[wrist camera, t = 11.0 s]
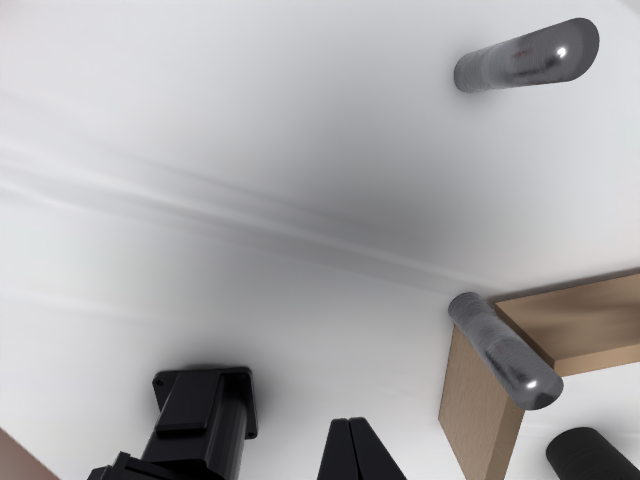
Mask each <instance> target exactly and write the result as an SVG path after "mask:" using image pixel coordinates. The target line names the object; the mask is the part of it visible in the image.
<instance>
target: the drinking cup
mask: <svg viewBox="0 0 640 480" xmlns="http://www.w3.org/2000/svg"><path fill="white" fill-rule="evenodd" d="M546 455H547V459H548V461H549V462H550V464H551V466H552V467H553V469H554V470H555V472H556V474H557V475H558V477H559V479H560V480H640V471H639V470H638V469H637V468H636V467H635V466H634V465H633V464H632V463H631V462H630V461H629V460H628V459H626V458H625V457H624V456H623V455H622V454H621V453H620V452H619V451H618V450H617V449H616V448H615V447H613V446H612V445H611V444H610V443H609V442H608V441H607V440H606V439H605V438H604V437H603V436H602V435H600V434H599V433H598V432H597V431H596V430H594V429H591V428H576V429H572V430H569V431H567V432H565V433H563V434H561V435H559V436H558V437H557V438H555V439H554V440H553V441H552V442H551V444H550V445H549V447H548V449H547V452H546Z"/></svg>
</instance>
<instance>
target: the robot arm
mask: <svg viewBox="0 0 640 480" xmlns="http://www.w3.org/2000/svg"><path fill="white" fill-rule="evenodd" d="M242 375H245V376H242ZM160 380H162V381H160ZM152 384H153V387H154V391H155V395H156V398H157V402H158V406H159V409H160V415H159V418H158V420H157V422H156V424H155V427H154V430H153V432H152V434H151V437H150V439H149V441H148V443H147V446H146V448H145V450H144V452H143V455H142V457H141V459H137V458H134V457H130V455H131V454H128V453H125V452H122V451H120V453H119V454H118V456H117V458H116V459H115V461H114V463H113V464H112V466H110V465H107V466H105V467H101V468H96V469H93V470H92V472H91V474H90V475H89V477H88V479H87V480H238V476H239V470H240V464H241V457H242V451H243V445H244V440H246V439H254V438H256V437H257V434H258V424H257V416H256V408H255V399H254V391H253V383H252V374H251V371H250V370H249V369H248V368H229V369H213V370H196V371H180V372H164V373H158V374H156V376H155V377H154V379H153V381H152ZM317 480H407V479H406V477H405V476H404V474H403V473H402V471H401V470H400V468H399V467H398V465H397V464H396V463H395V461H394V460H393V458H392V457H391V455H390V454H389V452H388V451H387V449H386V448H385V446H384V445H383V444H382V442H381V441H380V439H379V438H378V436H377V435H376V433H375V432H374V430H373V429H372V427H371V426H370V424H369V423H368V422H367V420H366V419H365V418H364V417H354V418H349V420H347V419H346V418H340V419H333V420H332V421H331V424H330V429H329V433H328V437H327V441H326V445H325V449H324V453H323V457H322V461H321V465H320V469H319V473H318V477H317Z"/></svg>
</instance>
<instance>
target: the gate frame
mask: <svg viewBox="0 0 640 480" xmlns="http://www.w3.org/2000/svg"><path fill="white" fill-rule="evenodd" d="M598 49H599V33H598V30H597V28H596V26H595V25H594V24H593V23H592V22H591V21H590V20H588V19H585V18H574V19H571V20H568V21H565V22H562V23H559V24H556V25H553V26H550V27H547V28H544V29H541V30H538V31H535V32H532V33H529V34H526V35H523V36H520V37H517V38H514V39H511V40H508V41H505V42H502V43H499V44H496V45H493V46H490V47H487V48H484V49H481V50H478V51H475V52H472V53H469V54H467V55H465V56H464V57H462V58H461V59H460V60H459V62H458V63H457V65H456V68H455V71H454V80H455V83H456V85H457V87H458V88H459V89H460V90H462V91H464V92H476V91H486V90H495V89H504V88H513V87H522V86H531V85H540V84H549V83H558V82H567V81H572V80H574V79H576V78H578V77H580V76H581V75H582V74H584V73H585V72H586V71H587V70H588V69H589V67H590V66H591V65H592V63H593V62H594V60H595V58H596V55H597V52H598ZM449 315H450V317H451V319H452V320H453V321H454V323H455V326H454V332H453V338H452V343H451V349H450V355H449V361H448V367H447V372H446V378H445V384H444V390H443V396H442V402H441V407H440V413H439V419H438V420H439V422H440V424H441V426H442V428H443V430H444V433H445V435H446V437H447V439H448V441H449V443H450V446H451V448H452V450H453V452H454V454H455V456H456V458H457V461H458V463H459V465H460V467H461V469H462V471H463V474H464V476H465V478H466V480H504V478H505V474H506V471H507V468H508V465H509V461H510V458H511V455H512V452H513V448H514V445H515V442H516V439H517V435H518V432H519V429H520V426H521V422H522V419H523V416H524V413H525V410H538V409H542V408H544V407H546V406H548V405H550V404H552V403H553V402H554V401H555V400H556V399H557V398H558V397H559V396H560V394H561V393H562V391H563V386H564V385H563V380H562V378H561V377H560V376H559V375H558V374H557V373H556V372H555V371H554V370H553V369H552V368H551V367H550V366H549V365H548V364H547V363H546V362H545V361H544V360H543V359H542V358H541V357H540V356H539V355H538V354H537V353H536V352H535V351H534V350H533V349H532V348H531V347H530V346H529V345H528V344H527V343H526V342H525V341H524V340H523V339H522V338H521V337H520V336H519V335H518V334H517V333H516V332H515V331H514V330H513V329H512V328H511V327H510V326H509V325H508V324H507V323H506V322H505V321H504V320H503V319H502V318H501V317H500V316H499V315H498V314H497V313H496V312H495V311H494V310H493V309H492V308H491V307H490V306H489V305H488V304H487V303H486V302H485V301H484V300H483V299H482V298H481V297H480V296H479V295H477V294H475V293H464V294H462V295H459V296H458V297H456V298H455V299H454V300H453V301H452V303H451V304H450V307H449Z"/></svg>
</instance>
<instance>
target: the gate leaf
mask: <svg viewBox="0 0 640 480" xmlns="http://www.w3.org/2000/svg"><path fill="white" fill-rule="evenodd" d="M495 312H496V313H497V314H498V315H499V316H500V317H501V318H502V319H503V320H504V321H505V322H506V323H507V324H508V325H509V326H510V327H511V328H512V329H513V330H514V331H515V332H516V333H517V334H518V335H519V336H520V337H521V338H522V339H523V340H524V341H525V342H526V343H527V344H528V345H529V346H530V347H531V348H532V349H533V350H534V351H535V352H536V353H537V354H538V355H539V356H540V357H541V358H542V359H543V360H544V361H545V362H546V363H547V364H548V365H549V366H550V367H551V368H552V369H553V370H554V371H555V372H556V373H557V374H558V375H559V376H560V377H565V376H570V375H575V374H580V373H585V372H590V371H595V370H600V369H605V368H610V367H615V366H620V365H625V364H630V363H635V362H640V274H636V275H631V276H626V277H621V278H616V279H611V280H606V281H601V282H596V283H591V284H586V285H581V286H576V287H571V288H566V289H561V290H556V291H551V292H546V293H541V294H536V295H532V296H527V297H522V298H517V299H512V300H507V301H502V302H497V303H495Z"/></svg>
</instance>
